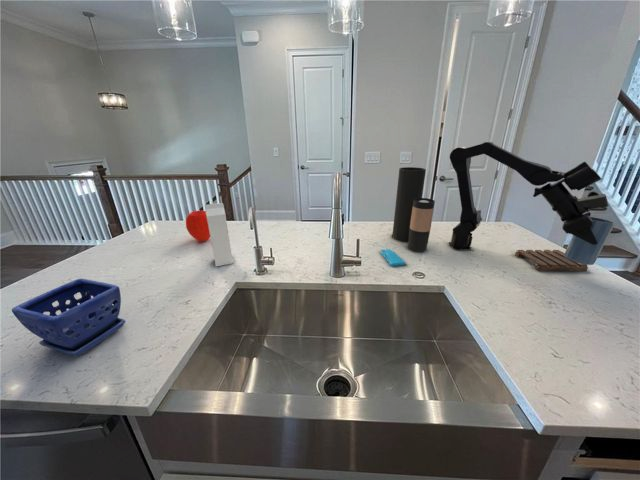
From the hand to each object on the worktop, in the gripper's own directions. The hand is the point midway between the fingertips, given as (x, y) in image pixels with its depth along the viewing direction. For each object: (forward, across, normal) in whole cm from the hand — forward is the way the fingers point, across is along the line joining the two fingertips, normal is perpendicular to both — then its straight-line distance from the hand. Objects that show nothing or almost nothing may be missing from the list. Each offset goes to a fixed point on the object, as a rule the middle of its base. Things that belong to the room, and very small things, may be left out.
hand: (594, 240), depth 80 cm
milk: (-60, -70, +79) cm, 122 cm away
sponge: (-28, -28, +46) cm, 60 cm away
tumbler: (+4, -1, +6) cm, 7 cm away
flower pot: (-53, -112, +71) cm, 143 cm away
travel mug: (-25, -13, +44) cm, 52 cm away
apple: (-79, -65, +98) cm, 142 cm away
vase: (-32, -5, +50) cm, 60 cm away
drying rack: (+3, +5, +14) cm, 16 cm away
